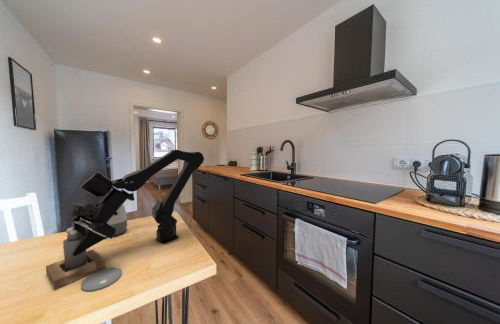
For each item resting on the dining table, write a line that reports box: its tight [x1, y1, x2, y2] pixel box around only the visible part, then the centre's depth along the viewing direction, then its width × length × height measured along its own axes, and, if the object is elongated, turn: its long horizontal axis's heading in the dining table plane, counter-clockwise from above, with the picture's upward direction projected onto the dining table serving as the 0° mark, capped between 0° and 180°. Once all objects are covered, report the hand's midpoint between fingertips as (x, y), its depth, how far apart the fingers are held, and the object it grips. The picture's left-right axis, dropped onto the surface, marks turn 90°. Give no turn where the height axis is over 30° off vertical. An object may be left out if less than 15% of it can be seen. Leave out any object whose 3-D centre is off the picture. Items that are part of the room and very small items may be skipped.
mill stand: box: [45, 249, 107, 291], centre depth 56 cm, size 11×11×2 cm
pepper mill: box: [62, 230, 88, 273], centre depth 56 cm, size 5×5×13 cm
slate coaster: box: [80, 266, 123, 293], centre depth 52 cm, size 9×9×1 cm
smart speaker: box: [107, 204, 128, 237], centre depth 81 cm, size 10×9×14 cm
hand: (69, 252), depth 54 cm, fingers open, 7 cm apart
